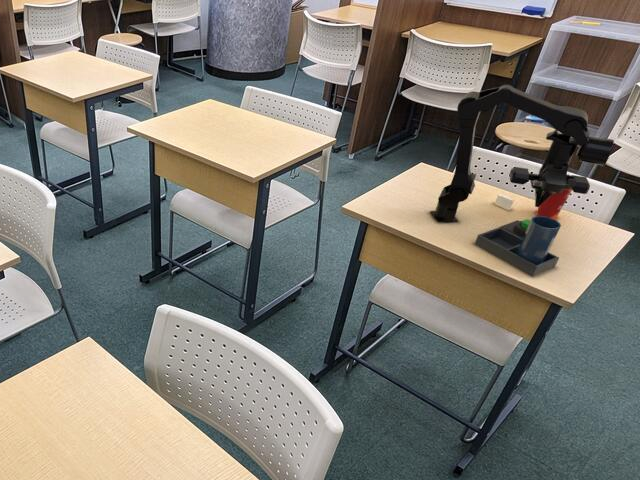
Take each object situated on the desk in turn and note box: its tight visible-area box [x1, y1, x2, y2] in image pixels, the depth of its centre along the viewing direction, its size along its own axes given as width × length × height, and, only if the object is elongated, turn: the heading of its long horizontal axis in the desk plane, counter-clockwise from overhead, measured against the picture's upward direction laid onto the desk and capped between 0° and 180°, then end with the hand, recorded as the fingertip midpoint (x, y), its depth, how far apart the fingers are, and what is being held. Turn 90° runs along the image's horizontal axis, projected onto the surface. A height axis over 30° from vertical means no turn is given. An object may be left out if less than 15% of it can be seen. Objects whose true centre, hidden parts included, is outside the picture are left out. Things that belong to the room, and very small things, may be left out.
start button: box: [521, 218, 531, 229], centre depth 163 cm, size 4×4×2 cm
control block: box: [499, 220, 527, 239], centre depth 165 cm, size 11×8×4 cm
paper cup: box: [536, 172, 573, 220], centre depth 172 cm, size 8×8×14 cm
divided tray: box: [474, 226, 560, 278], centre depth 157 cm, size 18×10×3 cm, turn 26°
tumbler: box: [516, 215, 562, 265], centre depth 151 cm, size 7×7×13 cm
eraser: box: [494, 193, 515, 211], centre depth 180 cm, size 1×5×4 cm, turn 32°
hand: (536, 206), depth 159 cm, fingers closed
